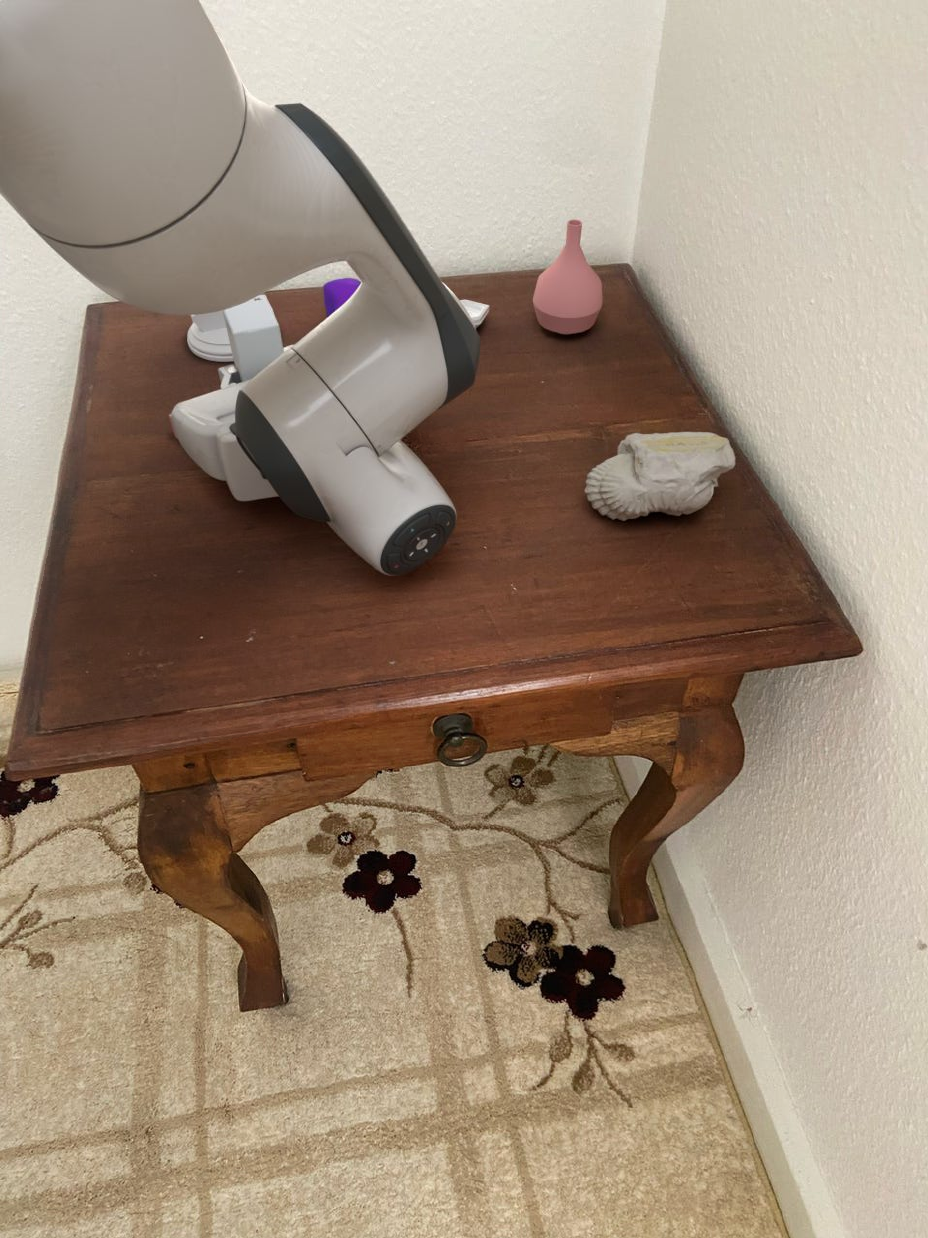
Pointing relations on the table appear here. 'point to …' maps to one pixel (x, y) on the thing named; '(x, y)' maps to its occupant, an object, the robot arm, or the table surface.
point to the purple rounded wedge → (338, 293)
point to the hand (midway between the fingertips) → (256, 363)
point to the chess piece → (210, 337)
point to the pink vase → (568, 289)
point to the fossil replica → (659, 474)
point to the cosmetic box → (253, 336)
